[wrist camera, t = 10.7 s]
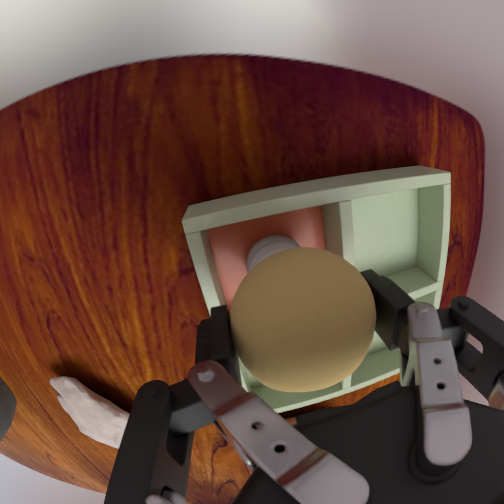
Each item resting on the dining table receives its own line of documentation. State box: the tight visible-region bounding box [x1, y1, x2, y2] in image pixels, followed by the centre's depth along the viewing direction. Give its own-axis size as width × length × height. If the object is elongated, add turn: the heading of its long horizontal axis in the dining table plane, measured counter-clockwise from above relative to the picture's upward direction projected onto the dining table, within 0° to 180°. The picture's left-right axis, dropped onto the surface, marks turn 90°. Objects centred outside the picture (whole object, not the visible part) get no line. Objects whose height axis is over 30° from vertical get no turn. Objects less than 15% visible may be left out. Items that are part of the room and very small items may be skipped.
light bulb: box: [230, 235, 376, 392], centre depth 13 cm, size 6×6×10 cm
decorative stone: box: [50, 376, 130, 448], centre depth 22 cm, size 11×4×15 cm
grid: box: [182, 166, 451, 413], centre depth 19 cm, size 17×17×4 cm
